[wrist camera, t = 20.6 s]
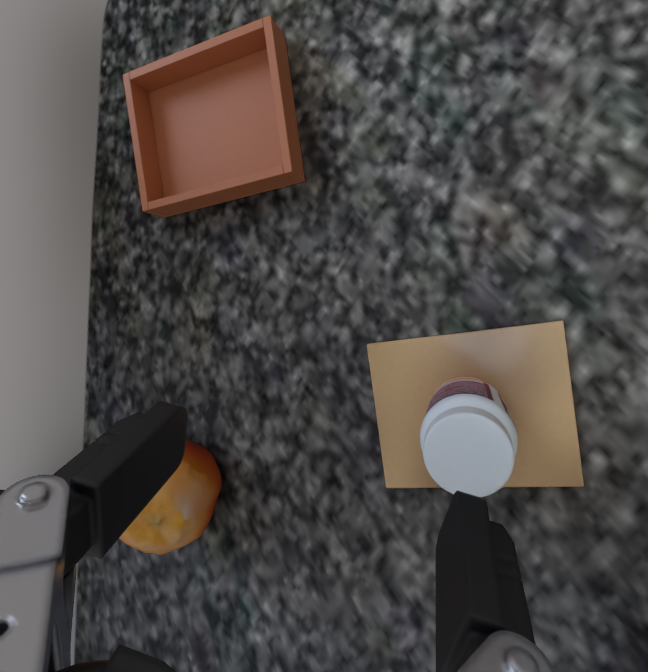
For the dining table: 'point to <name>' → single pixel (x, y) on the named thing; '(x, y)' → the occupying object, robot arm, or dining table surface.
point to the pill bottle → (468, 438)
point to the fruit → (178, 505)
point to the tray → (215, 121)
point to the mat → (501, 373)
